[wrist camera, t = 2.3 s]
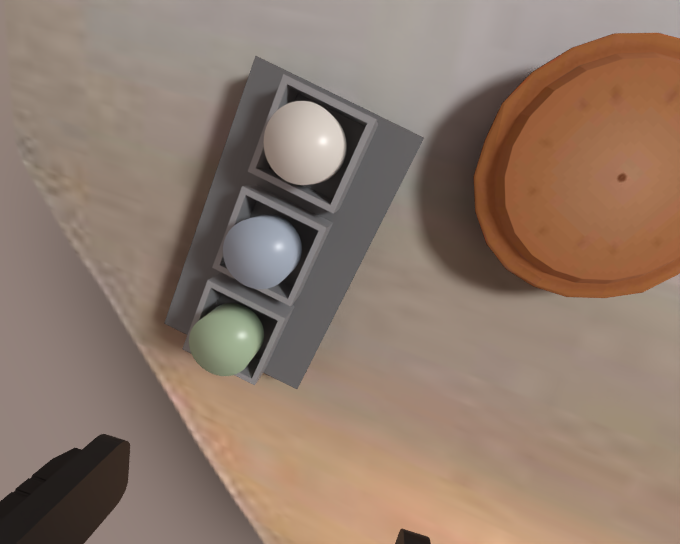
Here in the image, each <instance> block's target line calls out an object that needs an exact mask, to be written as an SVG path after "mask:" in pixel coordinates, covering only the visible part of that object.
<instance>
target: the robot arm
mask: <svg viewBox="0 0 680 544" xmlns="http://www.w3.org/2000/svg"><path fill="white" fill-rule="evenodd" d="M129 454H130V443H129V442H128V441H125V440H122V439H119V438H116V437H113V436H109V435H106V434H102V435H99V436H98V437H96V438H95V439H94V440H93V441H92V442H90V443H89V444H88V445H87V446H86V447H85V448H84V449H82V450H81V449H78V448H74V449H71V450H69V451H67V452H65V453H63V454H62V455H59V456H57V457H55V458H53V459H52V460H50V461H49V462H48V463H47V464H45V465H44V466H43V467H42V468H41V469H39V470H38V471H37V472H36V473H34V474H33V475H32V477H31V478H30V479H29V478H28V479H27V480H26V481H25V482H24V483H22V484H21V485H20V486H19V487H17V488H16V490H15V491H14V492H11V493H10V494H9V495H7V496H6V497H5V498H4V499H3V500H1V501H0V544H84V543H85V542H86V540H87V539H88V538H89V537H90V536H91V535H92V533H93V532H94V531H95V530H96V529H97V528H98V527H99V525H100V524H101V523H102V522H103V521H104V519H105V518H106V517H107V516H108V515H109V514H110V512H111V511H112V510H113V509H114V508H115V507H116V505H117V504H118V503H119V501H120V499H121V498H122V496H123V494H124V492H125V490H126V487H127V483H128V470H129V456H130V455H129ZM395 544H431V543H430V539H429V537H427V536H424V535H421V534H417V533H414V532H411V531H408V530H405V529H401V530H400V532H399V534H398V537H397V540H396V543H395Z"/></svg>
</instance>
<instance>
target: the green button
mask: <svg viewBox="0 0 680 544" xmlns="http://www.w3.org/2000/svg"><path fill="white" fill-rule="evenodd" d="M263 340H264V330H263V326H262V323H261V321H260V319H259V318H258V317H257V315H256V314H255V313H254V312H253V311H252V310H250V309H249V308H247V307H245V306H243V305H240V304H236V303H226V304H222V305H220V306H218V307H216V308H215V309H214V310H212V311H211V312H210V313H208V314H207V315H206V316H204V317H203V318H202V319H201V320H199V321H198V322H197V323H196V324H195V325H194V326H193V328H192V330H191V332H190V335H189V347H190V351H191V353H192V355H193V357H194V359H195V360H196V362H197V363H198V364H199V365H200V366H201V367H202V368H204V369H205V370H206V371H208V372H210V373H212V374H215V375H219V376H231V375H235V374H237V373H239V372H241V371H242V370H244V369H245V368H246V366H247V365H248V364H249V362H250V361H251V360H252V358H253V357H254V356H255V354H256V353H257V352H258V350H259V349H260V348H261V346H262V343H263Z"/></svg>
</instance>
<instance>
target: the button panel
mask: <svg viewBox="0 0 680 544" xmlns="http://www.w3.org/2000/svg"><path fill="white" fill-rule="evenodd" d="M295 101H309V102H313V103H315V104H318V105H320V106H321V107H323V108H324V109H326V110H327V111H328V112H329V113H330V114H331V115H332V116H333V117H334V118H335V119H336V120H337V121H338V122H339V124H340V125H341V127H342V129H343V131H344V133H345V137H346V142H347V150H346V156H345V160H344V162H343V164H342V166H341V168H340V169H339V171H338V172H337V173H336V174H335V175H334V176H333V177H331V178H330V179H328V180H326V181H324V182H321V183H316V184H309V185H297V184H293V183H290V182H287V181H286V180H284V179H282V178H281V177H280V176H278V175H277V174H276V173H275V172H274V170H273V169H272V168H271V166H270V165H269V163H268V161H267V158H266V155H265V151H264V133H265V129H266V126H267V124H268V122H269V120H270V118H271V117H272V116H273V114H274V113H275V112H276V111H277V110H278V109H280V108H281V107H282V106H284V105H286V104H288V103H291V102H295ZM423 139H424V138H423V137H421V136H419V135H417V134H415V133H413V132H411V131H409V130H407V129H405V128H403V127H401V126H399V125H397V124H395V123H393V122H391V121H389V120H387V119H384V118H382V117H380V116H378V115H376V114H374V113H372V112H370V111H368V110H366V109H364V108H362V107H360V106H358V105H356V104H354V103H352V102H350V101H348V100H346V99H343V98H341V97H339V96H337V95H335V94H333V93H331V92H329V91H327V90H325V89H323V88H321V87H319V86H317V85H315V84H313V83H311V82H309V81H307V80H305V79H302V78H300V77H298V76H296V75H294V74H292V73H290V72H288V71H286V70H284V69H282V68H280V67H278V66H276V65H274V64H272V63H270V62H268V61H266V60H264V59H261V58H259V57H257V56H255V59H254V62H253V65H252V68H251V71H250V74H249V77H248V80H247V82H246V85H245V88H244V91H243V94H242V97H241V100H240V103H239V106H238V109H237V112H236V115H235V118H234V121H233V124H232V126H231V129H230V132H229V135H228V138H227V141H226V144H225V147H224V150H223V153H222V156H221V159H220V162H219V165H218V168H217V171H216V173H215V176H214V179H213V182H212V185H211V188H210V191H209V194H208V197H207V200H206V203H205V206H204V209H203V212H202V215H201V217H200V220H199V223H198V226H197V229H196V232H195V235H194V238H193V241H192V244H191V247H190V250H189V253H188V256H187V259H186V261H185V264H184V267H183V270H182V273H181V276H180V279H179V282H178V285H177V288H176V291H175V294H174V297H173V300H172V303H171V305H170V308H169V311H168V314H167V317H166V320H165V323H164V324H166V325H168V326H171V327H173V328H175V329H177V330H179V331H181V332H183V333H185V334H187V338H186V340H185V343H184V346H183V350H185V351H187V352H189V353H191V351H190V347H189V335H190V332H191V330H192V328H193V326H194V325H195V324H196V323H197V322H198V321H199V320H201V319H202V318H203V317H204V316H206V315H207V314H208V313H210V312H211V311H212V310H214V309H215V308H216V307H218V306H220V305H222V304H226V303H236V304H240V305H243V306H245V307H247V308H249V309H250V310H252V311H253V312H254V313H255V314H256V315H257V317H258V318H259V319H260V321H261V323H262V326H263V330H264V340H263V343H262V346H261V348H260V349H259V350H258V352H257V353H256V354H255V356H254V357H253V358H252V360H251V361H250V362H249V364H248V365H247V366H246V368H245V369H244V370H242V371H241V372H239V373H237V374H235V376H237V377H239V378H241V379H243V380H245V381H247V382H249V383H251V384H253V385H255V384H256V383H257V381H258V380H259V378H260V377H261V375H262V374H263V373H265V374H267V375H269V376H271V377H273V378H275V379H277V380H279V381H281V382H283V383H285V384H287V385H289V386H291V387H293V388H295V389H298V387H299V385H300V383H301V381H302V379H303V377H304V375H305V373H306V371H307V369H308V367H309V365H310V363H311V361H312V359H313V357H314V355H315V353H316V351H317V349H318V347H319V345H320V343H321V341H322V339H323V337H324V335H325V333H326V331H327V329H328V327H329V325H330V323H331V321H332V319H333V317H334V315H335V313H336V311H337V309H338V307H339V305H340V303H341V301H342V299H343V297H344V295H345V293H346V292H347V290H348V288H349V286H350V284H351V282H352V280H353V278H354V276H355V274H356V272H357V270H358V268H359V266H360V264H361V262H362V260H363V258H364V256H365V254H366V252H367V250H368V248H369V246H370V244H371V242H372V240H373V238H374V236H375V234H376V232H377V230H378V228H379V226H380V224H381V222H382V220H383V218H384V216H385V214H386V212H387V210H388V208H389V206H390V204H391V202H392V200H393V198H394V196H395V194H396V192H397V190H398V188H399V186H400V184H401V183H402V181H403V179H404V177H405V175H406V173H407V171H408V169H409V167H410V165H411V163H412V161H413V159H414V157H415V155H416V153H417V151H418V149H419V147H420V145H421V143H422V141H423ZM263 214H272V215H277V216H280V217H282V218H284V219H286V220H287V221H288V222H290V223H291V224H292V225H293V227H294V228H295V229H296V231H297V232H298V234H299V237H300V240H301V244H302V254H301V258H300V261H299V263H298V265H297V266H296V268H295V269H294V270H293V271H292V272H291V273H290V274H289V275H288V276H287V277H286V278H285V279H284V280H283V281H282V282H280V283H279V284H278V285H276V286H274V287H271V288H267V289H254V288H250V287H247V286H245V285H243V284H241V283H240V282H239V281H237V280H236V279H235V278H234V277H233V276H232V275H231V273H230V272H229V270H228V269H227V267H226V264H225V262H224V258H223V244H224V240H225V237H226V235H227V233H228V232H229V230H230V229H231V228H232V227H233V226H234V225H236V224H237V223H239V222H241V221H243V220H246V219H249V218H252V217H256V216H259V215H263ZM191 354H192V353H191Z"/></svg>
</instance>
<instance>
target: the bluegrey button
mask: <svg viewBox="0 0 680 544" xmlns="http://www.w3.org/2000/svg"><path fill="white" fill-rule="evenodd" d="M301 254H302V244H301V240H300V237H299V234H298V232H297V231H296V229H295V228H294V227H293V225H292V224H291V223H290V222H288V221H287V220H286V219H284V218H282V217H280V216H277V215H272V214H263V215H259V216H256V217H252V218H249V219H246V220H243V221H241V222H239V223H237V224H236V225H234V226H233V227H232V228H231V229H230V230H229V232H228V233H227V235H226V237H225V240H224V244H223V258H224V262H225V264H226V267H227V269H228V270H229V272H230V273H231V275H232V276H233V277H234V278H235V279H236V280H237V281H239V282H240V283H241V284H243V285H245V286H247V287H250V288H254V289H267V288H271V287H274V286H276V285H278V284H279V283H280V282H282V281H283V280H284V279H285V278H286V277H287V276H288V275H289V274H290V273H291V272H292V271H293V270H294V269H295V268H296V266H297V265H298V263H299V261H300V258H301Z"/></svg>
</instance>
